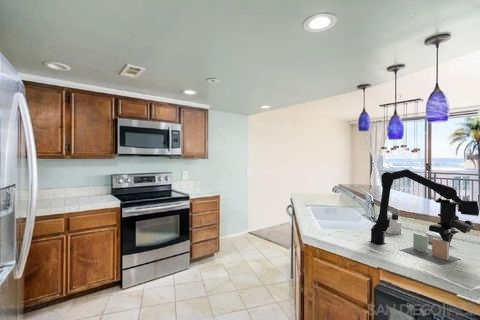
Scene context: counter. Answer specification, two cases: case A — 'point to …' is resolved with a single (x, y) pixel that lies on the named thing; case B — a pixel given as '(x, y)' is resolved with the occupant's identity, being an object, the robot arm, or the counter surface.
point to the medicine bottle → (394, 224)
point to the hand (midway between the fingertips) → (447, 245)
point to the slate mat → (429, 256)
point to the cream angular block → (440, 248)
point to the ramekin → (433, 235)
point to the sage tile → (420, 242)
